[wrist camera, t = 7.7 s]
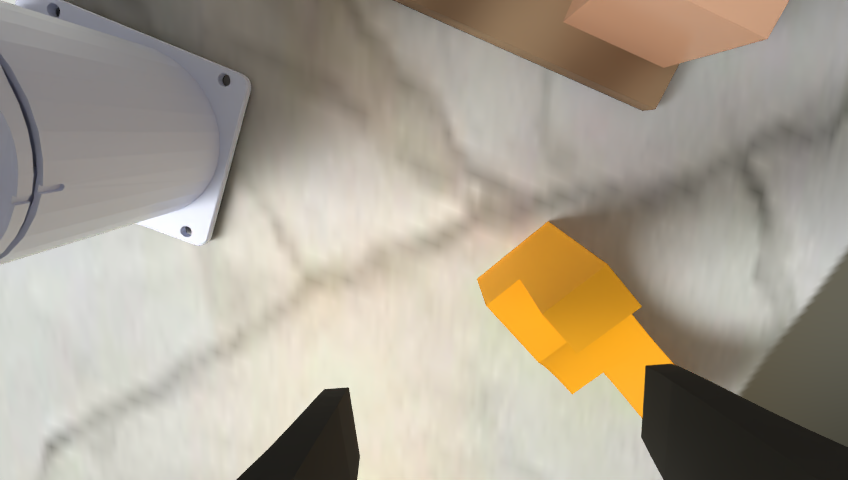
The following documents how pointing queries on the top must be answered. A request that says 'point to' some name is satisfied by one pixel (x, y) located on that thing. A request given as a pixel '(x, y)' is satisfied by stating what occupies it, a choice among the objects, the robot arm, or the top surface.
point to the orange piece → (571, 313)
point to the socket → (676, 25)
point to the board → (554, 45)
